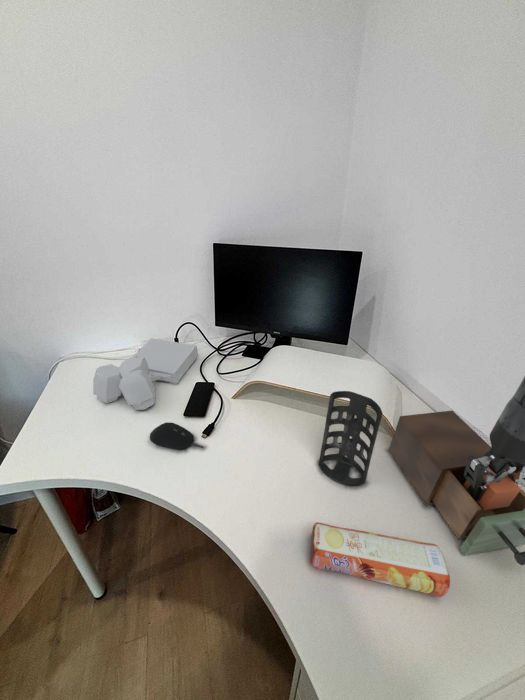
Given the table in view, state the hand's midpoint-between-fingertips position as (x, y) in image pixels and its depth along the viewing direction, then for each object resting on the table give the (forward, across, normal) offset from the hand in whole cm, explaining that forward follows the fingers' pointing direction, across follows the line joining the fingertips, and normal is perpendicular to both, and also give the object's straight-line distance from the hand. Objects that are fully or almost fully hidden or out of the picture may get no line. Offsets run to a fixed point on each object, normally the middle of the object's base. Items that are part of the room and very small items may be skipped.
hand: (486, 494), depth 54 cm
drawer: (+8, 0, -1) cm, 8 cm away
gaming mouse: (+9, -60, +30) cm, 67 cm away
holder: (+9, -21, +15) cm, 27 cm away
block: (0, 0, 0) cm, 0 cm away
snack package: (+9, -24, -5) cm, 26 cm away
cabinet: (+9, 0, +11) cm, 14 cm away
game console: (+9, -71, +58) cm, 92 cm away
